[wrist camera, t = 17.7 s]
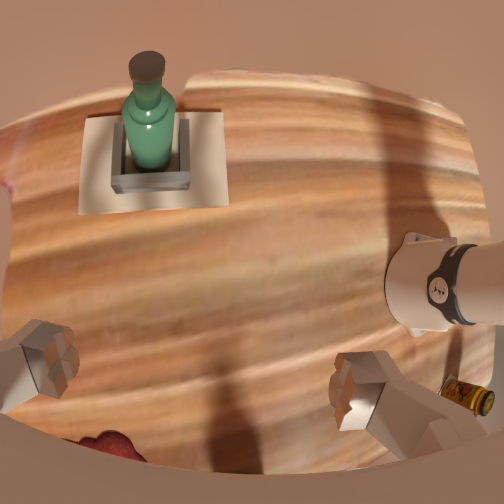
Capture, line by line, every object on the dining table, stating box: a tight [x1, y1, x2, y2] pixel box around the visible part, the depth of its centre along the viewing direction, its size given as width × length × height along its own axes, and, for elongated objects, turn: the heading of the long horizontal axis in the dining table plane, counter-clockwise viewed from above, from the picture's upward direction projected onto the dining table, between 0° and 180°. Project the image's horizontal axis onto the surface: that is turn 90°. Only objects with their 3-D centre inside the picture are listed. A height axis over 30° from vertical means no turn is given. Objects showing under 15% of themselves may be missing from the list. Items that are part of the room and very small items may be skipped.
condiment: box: [439, 373, 495, 416], centre depth 45 cm, size 7×8×12 cm
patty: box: [69, 432, 146, 462], centre depth 32 cm, size 18×14×2 cm
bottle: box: [122, 51, 176, 174], centre depth 28 cm, size 5×5×20 cm
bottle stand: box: [79, 112, 229, 216], centre depth 37 cm, size 20×14×5 cm
